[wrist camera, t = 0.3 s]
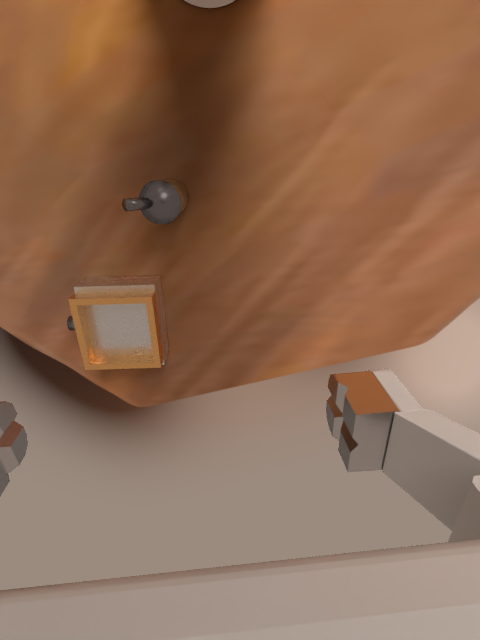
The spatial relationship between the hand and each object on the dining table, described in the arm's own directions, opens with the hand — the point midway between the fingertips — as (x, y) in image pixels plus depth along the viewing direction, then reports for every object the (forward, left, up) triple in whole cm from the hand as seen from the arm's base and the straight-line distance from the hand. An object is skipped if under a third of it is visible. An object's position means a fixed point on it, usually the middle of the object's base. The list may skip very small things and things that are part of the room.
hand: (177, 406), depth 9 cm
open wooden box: (+17, -17, -47) cm, 53 cm away
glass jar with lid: (-2, -7, -47) cm, 47 cm away
